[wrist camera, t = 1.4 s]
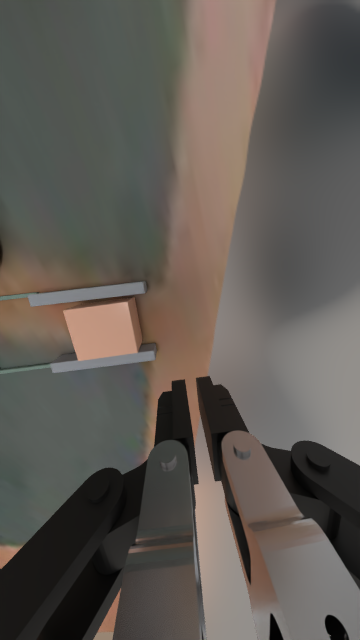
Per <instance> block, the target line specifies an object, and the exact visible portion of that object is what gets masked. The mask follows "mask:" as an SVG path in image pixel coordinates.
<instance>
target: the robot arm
mask: <svg viewBox="0 0 360 640" xmlns="http://www.w3.org/2000/svg"><path fill="white" fill-rule="evenodd" d="M196 383H197V393H198V403H199V410H200V415H201V420H202V424H203V428H204V433H205V437H206V442H207V447H208V451H209V456H210V461H211V465H212V470H213V474H214V479H215V481H222V485H223V489H224V493H225V505H226V509H227V513H228V517H229V520H230V524H231V528H232V532H233V535H234V539H235V543H236V547H237V550H238V554H239V558H240V562H241V566H242V569H243V573H244V577H245V581H246V584H247V588H248V593H249V598H250V603H251V609H252V614H253V619H254V624H255V629H256V633H257V637H258V640H360V466H359V465H357V464H356V463H354V462H352V461H350V460H348V459H346V458H345V457H343V456H341V455H339V454H337V453H336V452H334V451H332V450H330V449H328V448H326V447H325V446H323V445H321V444H318V443H315V442H312V441H299V442H297V443H295V444H294V445H293V446H292V449H291V451H288V450H282V449H276V448H271V447H268V446H265V445H263V444H261V443H260V442H259V440H258V439H257V438H256V437H254V436H253V435H252V434H250V433H249V431H248V430H247V427H246V426H245V423H244V421H243V419H242V417H241V415H240V413H239V412H238V409H237V407H236V405H235V404H234V402H233V399H232V398H231V395H230V394H229V391H228V390H227V389H226V388H225V387H223V386H222V385H213V384H212V381H211V378H210V376H206V377H199V378H196ZM195 484H198V476H197V466H196V457H195V448H194V440H193V432H192V425H191V418H190V412H189V405H188V398H187V391H186V384H185V379H184V380H176V381H172V391H168V392H163V393H162V394H161V396H160V398H159V399H158V409H157V421H156V433H155V444H154V448H153V449H152V451H151V452H150V454H149V457H148V459H147V460H146V461H145V462H144V463H143V464H142V465H140V466H139V467H137V468H135V469H133V470H131V471H129V472H127V473H125V474H123V475H122V474H121V473H120V472H119V471H118V470H117V469H115V468H104V469H101V470H99V471H97V472H96V473H94V474H93V475H91V476H90V477H89V478H88V479H87V480H86V481H85V482H84V483H83V484H82V485H81V486H80V487H79V488H78V489H77V490H76V491H75V492H74V494H73V495H72V496H71V497H70V498H69V499H68V500H67V501H66V502H65V503H64V504H63V505H62V506H61V507H60V508H59V509H58V510H57V511H56V512H55V513H54V515H53V516H52V517H51V518H50V519H49V520H48V521H47V522H46V523H45V524H44V525H43V526H42V527H41V528H40V529H39V530H38V531H37V532H36V533H35V534H34V536H33V537H32V538H31V539H30V540H29V541H28V542H27V543H26V544H25V545H24V546H23V547H22V548H21V549H20V550H19V551H18V552H17V553H16V554H15V555H14V557H13V558H12V559H11V560H10V561H9V562H8V563H7V564H6V565H5V566H4V567H3V568H2V569H1V570H0V640H93V639H94V637H95V635H96V633H97V631H98V629H99V628H100V626H101V624H102V622H103V620H104V618H105V616H106V614H107V613H108V611H109V609H110V607H111V605H112V603H113V601H114V600H115V598H116V596H117V594H118V592H119V590H120V588H121V592H120V598H119V604H118V610H117V616H116V622H115V628H114V634H113V640H207V637H206V627H205V617H204V608H203V597H202V586H201V574H200V564H199V552H198V540H197V529H196V517H195V506H196V502H195V493H194V485H195ZM330 635H331V636H330Z"/></svg>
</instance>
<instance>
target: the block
mask: <svg viewBox="0 0 360 640" xmlns="http://www.w3.org/2000/svg"><path fill="white" fill-rule="evenodd" d="M63 312H64V315H65V319H66V322H67V325H68V329H69V332H70V335H71V339H72V342H73V345H74V349H75V352H76V355H77V358H78V361H83V360H90V359H97V358H104V357H111V356H119V355H126V354H133V353H138V351H139V348H140V346H141V343H142V341H143V339H142V333H141V328H140V323H139V318H138V313H137V307H136V302H135V297H130V298H122V299H115V300H107V301H100V302H92V303H85V304H80V305H77V306H74V307H71V308H69V309H66V310H63Z"/></svg>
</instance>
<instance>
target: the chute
mask: <svg viewBox="0 0 360 640" xmlns="http://www.w3.org/2000/svg"><path fill="white" fill-rule="evenodd" d="M146 292H147V286H146V281H141V282H132V283H123V284H115V285H106V286H97V287H88V288H80V289H71V290H62V291H54V292H45V293H38V294H32V295H27V296H28V299H29V302H30V305H31V306H40V305H49V304H57V303H66V302H74V301H83V300H91V299H100V298H108V297H117V296H125V295H134V294H142V293H146ZM156 353H157V350H156V343H151V344H143V345H141V346H140V348H139V351H138V353H133V354H126V355H119V356H111V357H104V358H97V359H90V360H83V361H78V358H77V355H76V353H71V354H63V355H61V356H59V357H58V358H57V359H56V360H54V361H53V362H52V363H50V366H51V369H52V372H53V373H57V372H65V371H73V370H81V369H89V368H96V367H104V366H112V365H120V364H128V363H135V362H143V361H151V360H155V359H156Z"/></svg>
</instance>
